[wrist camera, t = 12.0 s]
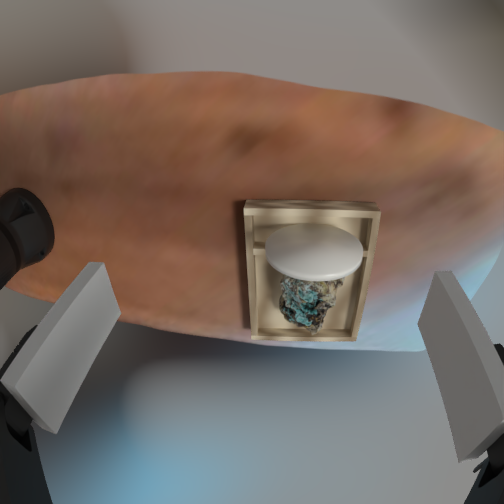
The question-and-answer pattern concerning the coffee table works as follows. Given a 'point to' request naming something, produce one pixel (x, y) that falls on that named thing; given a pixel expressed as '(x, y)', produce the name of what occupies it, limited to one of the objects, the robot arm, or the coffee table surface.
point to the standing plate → (314, 252)
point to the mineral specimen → (307, 301)
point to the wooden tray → (268, 279)
